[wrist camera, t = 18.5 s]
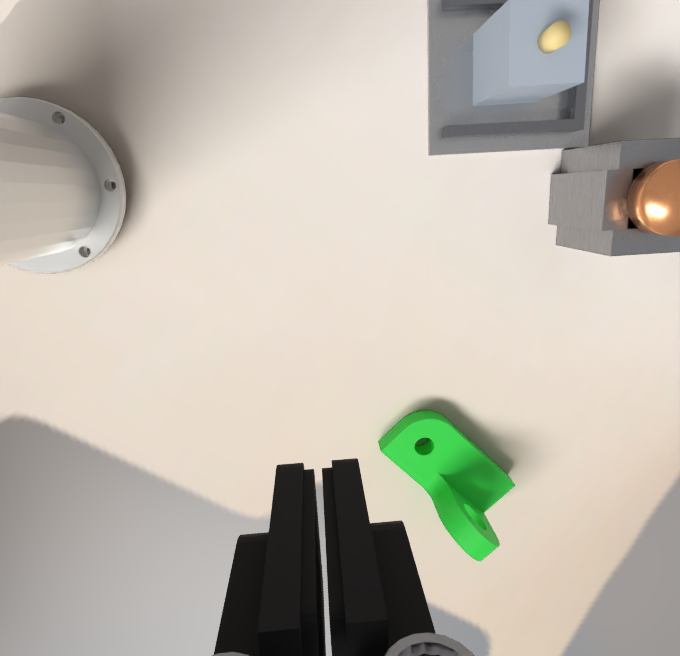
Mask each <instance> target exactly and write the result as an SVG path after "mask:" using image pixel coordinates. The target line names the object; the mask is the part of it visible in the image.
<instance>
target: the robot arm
mask: <svg viewBox="0 0 680 656" xmlns="http://www.w3.org/2000/svg"><path fill="white" fill-rule="evenodd" d="M63 116H64V117H65V122H64V123H62V121H61V118H62V117H63ZM112 182H115V184H116V188H115V189H113V188H112V186H111V184H112ZM125 209H126V190H125V182H124V178H123V175H122V172H121V168H120V165H119V163H118V161H117V159H116V157H115V155H114V153H113V151H112V149H111V148H110V147H109V145H108V144H107V143H106V141H105V140H104V139H103V137H102V136H101V134H99V133H98V132H97V131H96V130H95V129H94V128H93V127H92V126H91V125H90V124H89V123H88V122H87V121H85V120H84V119H82V118H81V117H79V116H78V115H76V114H75V113H73V112H72V111H70V110H67V109H65V108H63V107H61V106H59V105H56V104H53V103H50V102H47V101H44V100H41V99H34V98H27V97H11V98H3V99H0V266H2V265H6V264H7V265H9V266H12V267H14V268H17V269H19V270H23V271H28V272H33V273H42V274H55V273H61V272H68V271H71V270H74V269H77V268H80V267H83V266H85V265H87V264H89V263H91V262H93V261H94V260H96V259H97V258H98V257H99V256H101V255H102V254H103V253H104V252H105V251H106V250H107V249H108V248H109V247H110V245H111V244H112V243H113V242H114V240H115V239H116V237H117V235H118V233H119V231H120V229H121V226H122V223H123V219H124V215H125ZM87 248H89V249H90V251H91V254H89V253H88V252H87ZM322 476H323V497H324V517H325V537H326V556H327V576H328V597H329V616H330V631H331V646H332V656H474V655H473V653H472V652H471V651H469V650H468V649H467V648H466V647H464V646H463V645H462V644H461V643H460V642H458V641H455V640H453V639H451V638H449V637H447V636H444V635H439V634H436V633H435V630H434V626H433V623H432V620H431V616H430V613H429V609H428V606H427V602H426V599H425V595H424V592H423V588H422V585H421V581H420V578H419V575H418V571H417V568H416V564H415V561H414V557H413V554H412V550H411V547H410V543H409V540H408V536H407V533H406V530H405V526H404V524H403V522H402V521H392V522H381V523H370V522H369V517H368V511H367V506H366V501H365V495H364V490H363V485H362V479H361V474H360V468H359V463H358V459H357V458H356V459H344V460H332V468H322ZM323 596H324V595H323V578H322V565H321V553H320V539H319V527H318V514H317V501H316V489H315V476H314V469H309V470H304V464H303V463H295V464H283V465H277V468H276V476H275V485H274V493H273V502H272V511H271V519H270V528H269V532H268V533H257V534H246V535H240V536H239V538H238V540H237V544H236V550H235V554H234V559H233V564H232V569H231V574H230V578H229V583H228V588H227V593H226V598H225V603H224V608H223V613H222V617H221V623H220V627H219V632H218V637H217V642H216V647H215V652H214V655H213V656H326V649H325V623H324V597H323Z"/></svg>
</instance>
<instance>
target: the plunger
mask: <svg viewBox="0 0 680 656" xmlns="http://www.w3.org/2000/svg"><path fill="white" fill-rule="evenodd" d="M627 211H628V215H629V216H628V217H629V218H630V219H631V221H632V223H633V224H634V225H635V226H636V227H637V228H638V229H640V230H642V231H644V232H647V233H651V234H660V235H668V236H680V159H676V160H665V161H659V162H656V163H653V164H651V165H649V166H648V167H646V168H645V169H644V170H642V171H641V172H640V173H639V174H638V176H637V177H636V178H632V184H631V187H630V189H629V192H628V196H627Z"/></svg>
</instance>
